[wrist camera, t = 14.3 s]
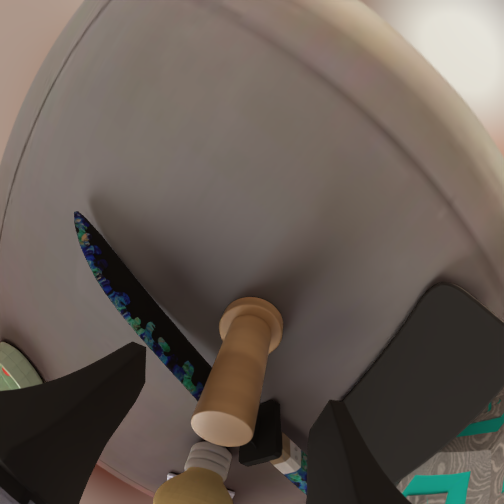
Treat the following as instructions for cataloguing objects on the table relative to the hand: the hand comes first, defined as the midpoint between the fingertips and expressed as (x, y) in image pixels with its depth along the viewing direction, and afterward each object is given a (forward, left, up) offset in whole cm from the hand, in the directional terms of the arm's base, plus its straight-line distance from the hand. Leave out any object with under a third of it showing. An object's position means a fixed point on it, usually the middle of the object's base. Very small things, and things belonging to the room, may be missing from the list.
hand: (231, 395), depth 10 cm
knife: (-6, 0, -7) cm, 9 cm away
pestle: (-1, 0, -7) cm, 7 cm away
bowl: (-20, +24, -7) cm, 32 cm away
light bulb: (-16, 0, -7) cm, 17 cm away
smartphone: (-10, -9, -4) cm, 14 cm away
